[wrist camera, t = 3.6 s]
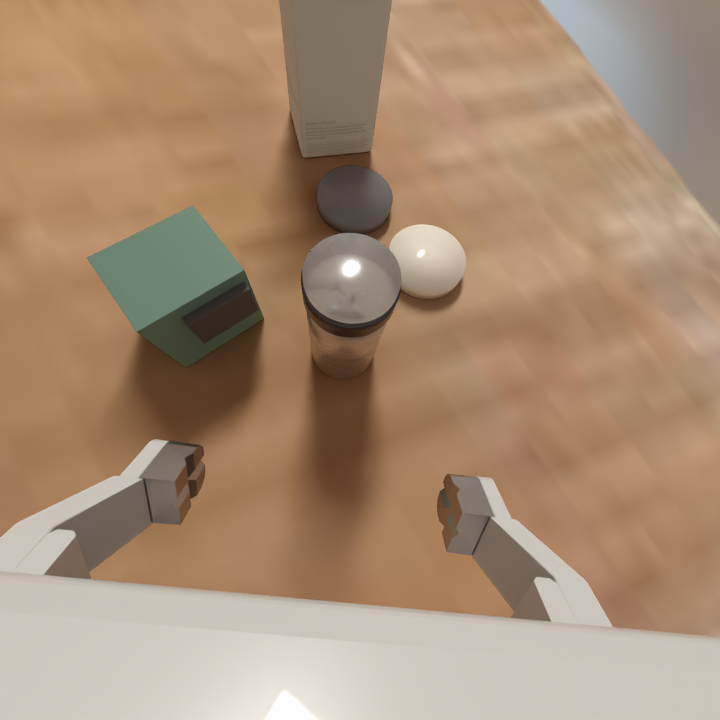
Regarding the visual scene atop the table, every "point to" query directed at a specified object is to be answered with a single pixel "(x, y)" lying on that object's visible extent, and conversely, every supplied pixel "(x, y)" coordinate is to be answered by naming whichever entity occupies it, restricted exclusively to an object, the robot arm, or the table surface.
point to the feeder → (179, 286)
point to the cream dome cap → (428, 261)
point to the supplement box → (334, 71)
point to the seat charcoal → (354, 199)
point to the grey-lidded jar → (348, 300)
